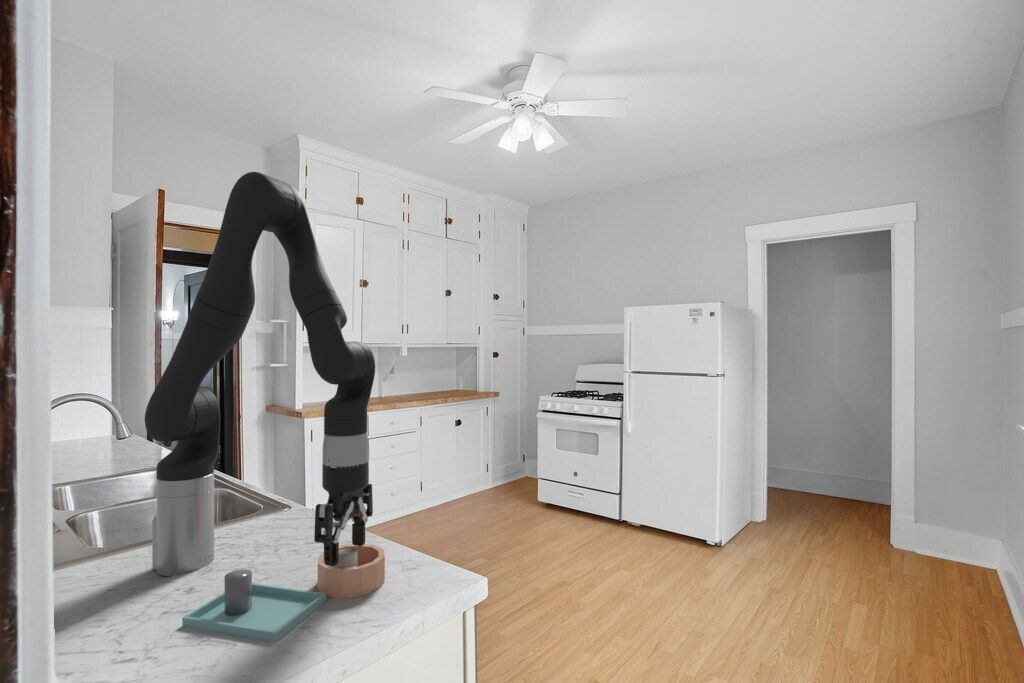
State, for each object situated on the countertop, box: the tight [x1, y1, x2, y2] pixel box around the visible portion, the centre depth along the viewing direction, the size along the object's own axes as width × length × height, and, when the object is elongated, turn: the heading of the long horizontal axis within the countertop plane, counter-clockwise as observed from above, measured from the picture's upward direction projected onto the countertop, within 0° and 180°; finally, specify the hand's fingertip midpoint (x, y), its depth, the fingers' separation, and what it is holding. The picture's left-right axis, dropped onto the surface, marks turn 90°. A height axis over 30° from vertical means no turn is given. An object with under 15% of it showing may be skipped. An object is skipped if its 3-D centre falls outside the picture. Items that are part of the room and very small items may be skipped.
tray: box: [182, 582, 327, 643], centre depth 84 cm, size 16×12×2 cm
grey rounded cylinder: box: [224, 568, 253, 616], centre depth 84 cm, size 4×4×6 cm
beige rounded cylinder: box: [334, 548, 358, 568], centre depth 92 cm, size 4×4×6 cm
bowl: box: [317, 543, 386, 599], centre depth 94 cm, size 11×11×5 cm
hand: (345, 554), depth 92 cm, fingers open, 8 cm apart
